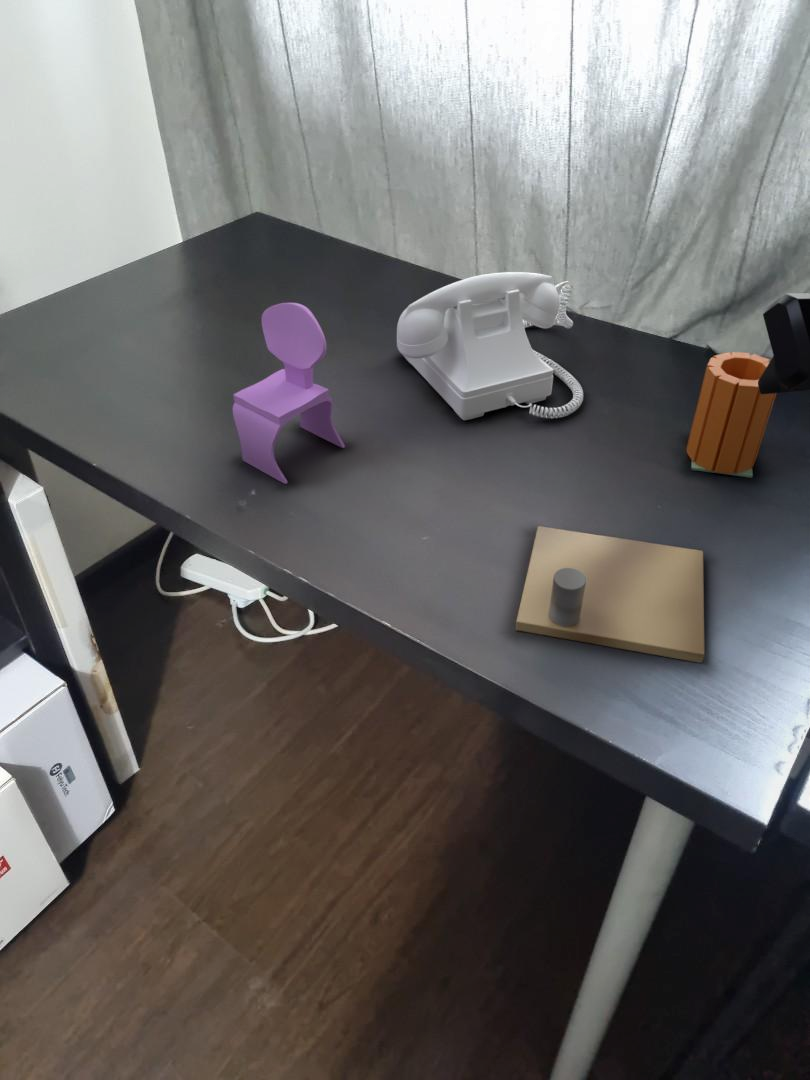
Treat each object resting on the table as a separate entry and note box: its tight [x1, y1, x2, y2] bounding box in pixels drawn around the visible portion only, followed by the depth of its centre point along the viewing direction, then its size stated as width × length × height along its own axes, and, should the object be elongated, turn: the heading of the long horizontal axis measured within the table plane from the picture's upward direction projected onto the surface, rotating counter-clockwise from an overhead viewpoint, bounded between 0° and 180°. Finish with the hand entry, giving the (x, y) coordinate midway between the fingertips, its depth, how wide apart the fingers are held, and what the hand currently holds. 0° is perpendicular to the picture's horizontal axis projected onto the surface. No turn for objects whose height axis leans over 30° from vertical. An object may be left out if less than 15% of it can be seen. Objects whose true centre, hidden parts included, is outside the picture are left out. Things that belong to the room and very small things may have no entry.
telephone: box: [396, 271, 584, 421], centre depth 90 cm, size 25×21×12 cm
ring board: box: [515, 525, 706, 664], centre depth 66 cm, size 14×12×5 cm
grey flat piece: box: [690, 459, 754, 479], centre depth 82 cm, size 6×6×1 cm
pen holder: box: [685, 351, 778, 475], centre depth 78 cm, size 6×7×10 cm
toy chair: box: [232, 302, 346, 485], centre depth 78 cm, size 8×9×15 cm
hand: (809, 385), depth 66 cm, fingers open, 9 cm apart
